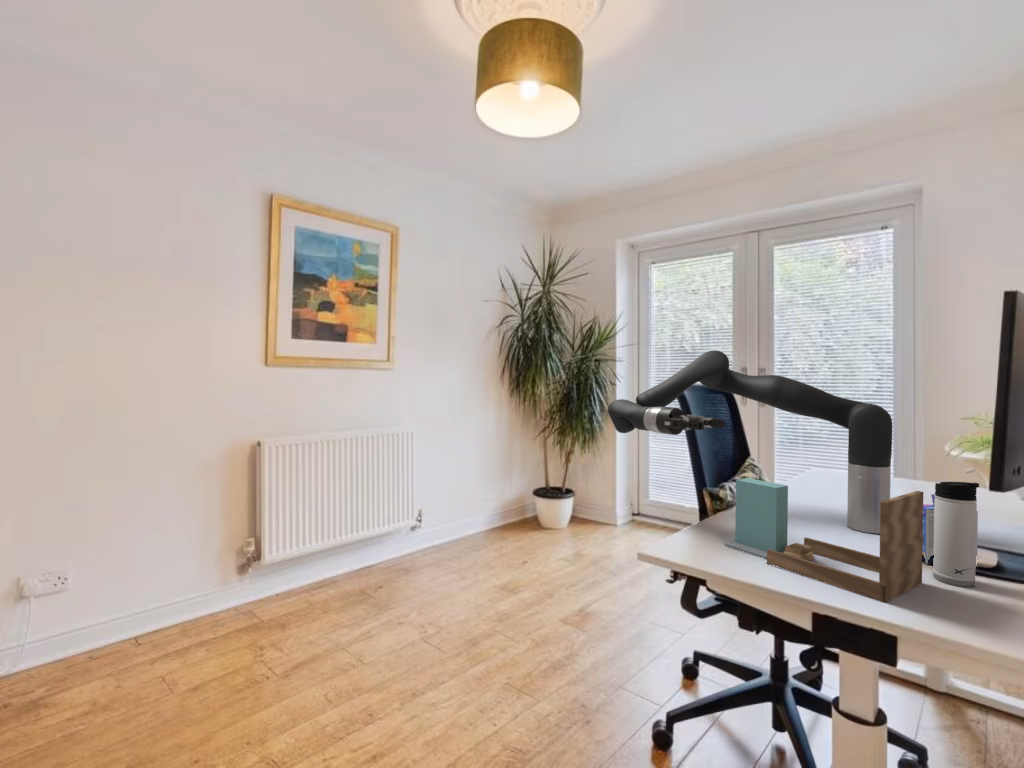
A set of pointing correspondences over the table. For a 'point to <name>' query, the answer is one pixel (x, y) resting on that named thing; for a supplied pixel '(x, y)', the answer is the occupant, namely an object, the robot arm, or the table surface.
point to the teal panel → (761, 514)
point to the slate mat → (747, 549)
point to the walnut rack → (893, 565)
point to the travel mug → (955, 533)
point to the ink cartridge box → (929, 530)
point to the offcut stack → (799, 551)
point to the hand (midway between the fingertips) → (714, 425)
